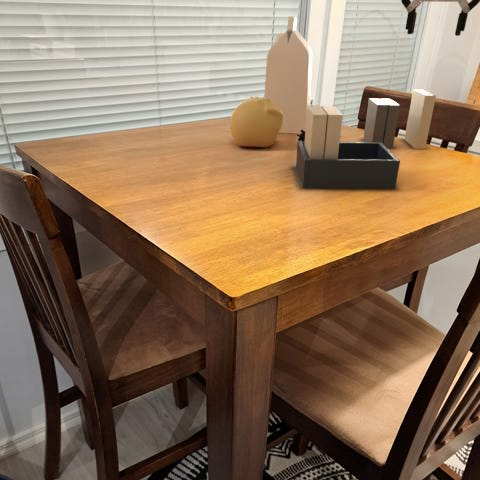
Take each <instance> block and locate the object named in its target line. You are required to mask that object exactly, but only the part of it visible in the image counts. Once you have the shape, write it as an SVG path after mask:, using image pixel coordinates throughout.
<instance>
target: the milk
mask: <svg viewBox="0 0 480 480" xmlns="http://www.w3.org/2000/svg"><path fill="white" fill-rule="evenodd" d="M297 23H298V16H288V21H287V27H286V31H285V32H283V31H280V32H279V33H278V34H277V35H276V36H275V38H274V39H273V42H274V44H272V46H271V47H270V48H269V49H268V51H267V53H266V66H265V67H266V68H265V79H264V80H265V81H264V96H263V97H265V98H268V99H270V100H271V102H272V103H273V104H274V105H276V107H278V108H279V109H280V110H281V111H282V113H283V119H282V126H281V129H280V130H279V133H278V134H294V135H295V134H296V135H297V134H298V135H300V134H302V133H301V132H300V131H301V130H303V131H306V117H307V106H311V101H312V75H313V48H312V47H311V45H310V44H309V43H308V41H306V39H305V38H304V37H303V35H302V34H301V33H300V32H299V30H298V29H297Z"/></svg>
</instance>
